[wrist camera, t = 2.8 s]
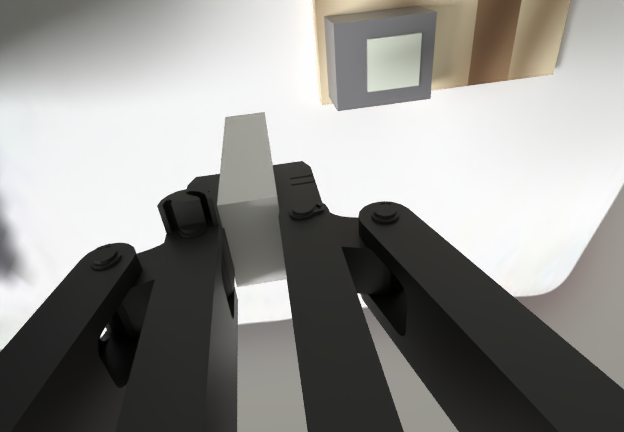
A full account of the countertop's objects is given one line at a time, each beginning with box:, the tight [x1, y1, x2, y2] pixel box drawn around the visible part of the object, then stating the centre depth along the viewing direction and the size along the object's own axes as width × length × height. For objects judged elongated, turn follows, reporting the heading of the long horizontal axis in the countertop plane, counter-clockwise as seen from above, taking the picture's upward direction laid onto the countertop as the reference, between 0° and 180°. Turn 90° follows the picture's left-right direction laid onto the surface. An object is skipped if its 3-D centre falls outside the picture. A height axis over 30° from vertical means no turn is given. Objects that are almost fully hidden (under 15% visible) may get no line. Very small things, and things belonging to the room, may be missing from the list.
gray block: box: [324, 6, 437, 111], centre depth 26 cm, size 6×5×3 cm
